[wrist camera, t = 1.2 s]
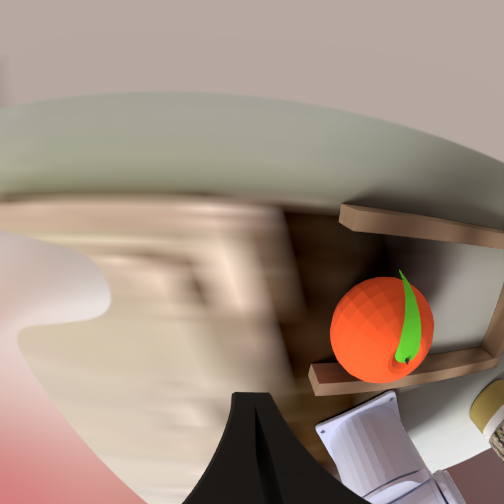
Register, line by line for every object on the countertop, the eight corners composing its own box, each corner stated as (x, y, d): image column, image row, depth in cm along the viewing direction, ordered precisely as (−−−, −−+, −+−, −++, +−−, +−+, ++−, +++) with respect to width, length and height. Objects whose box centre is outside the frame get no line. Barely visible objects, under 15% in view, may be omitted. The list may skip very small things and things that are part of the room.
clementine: (319, 251, 20) (361, 296, 13) (408, 243, 20) (470, 279, 14) (315, 352, 22) (344, 418, 16) (395, 338, 23) (439, 391, 16)
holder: (522, 234, 21) (539, 241, 19) (483, 354, 25) (495, 366, 23) (341, 203, 19) (356, 210, 17) (308, 375, 23) (315, 395, 21)
